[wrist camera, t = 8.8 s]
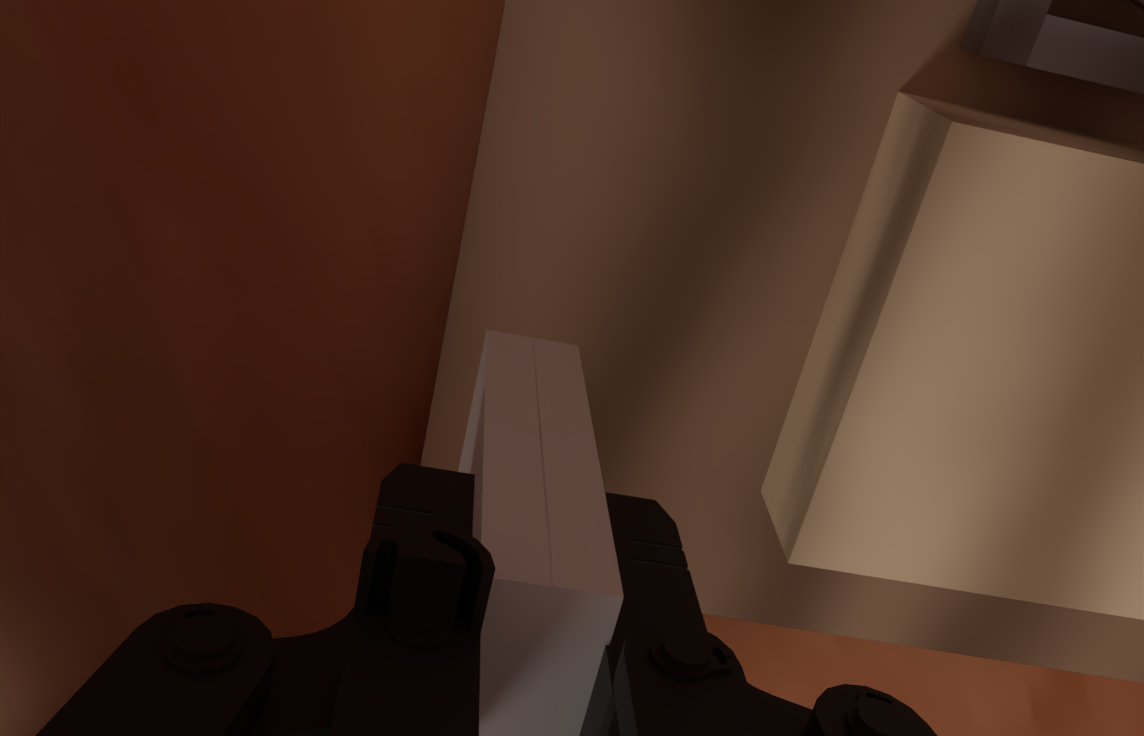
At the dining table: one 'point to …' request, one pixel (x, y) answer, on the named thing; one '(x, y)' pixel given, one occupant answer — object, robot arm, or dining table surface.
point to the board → (745, 255)
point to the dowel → (1138, 3)
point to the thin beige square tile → (979, 369)
